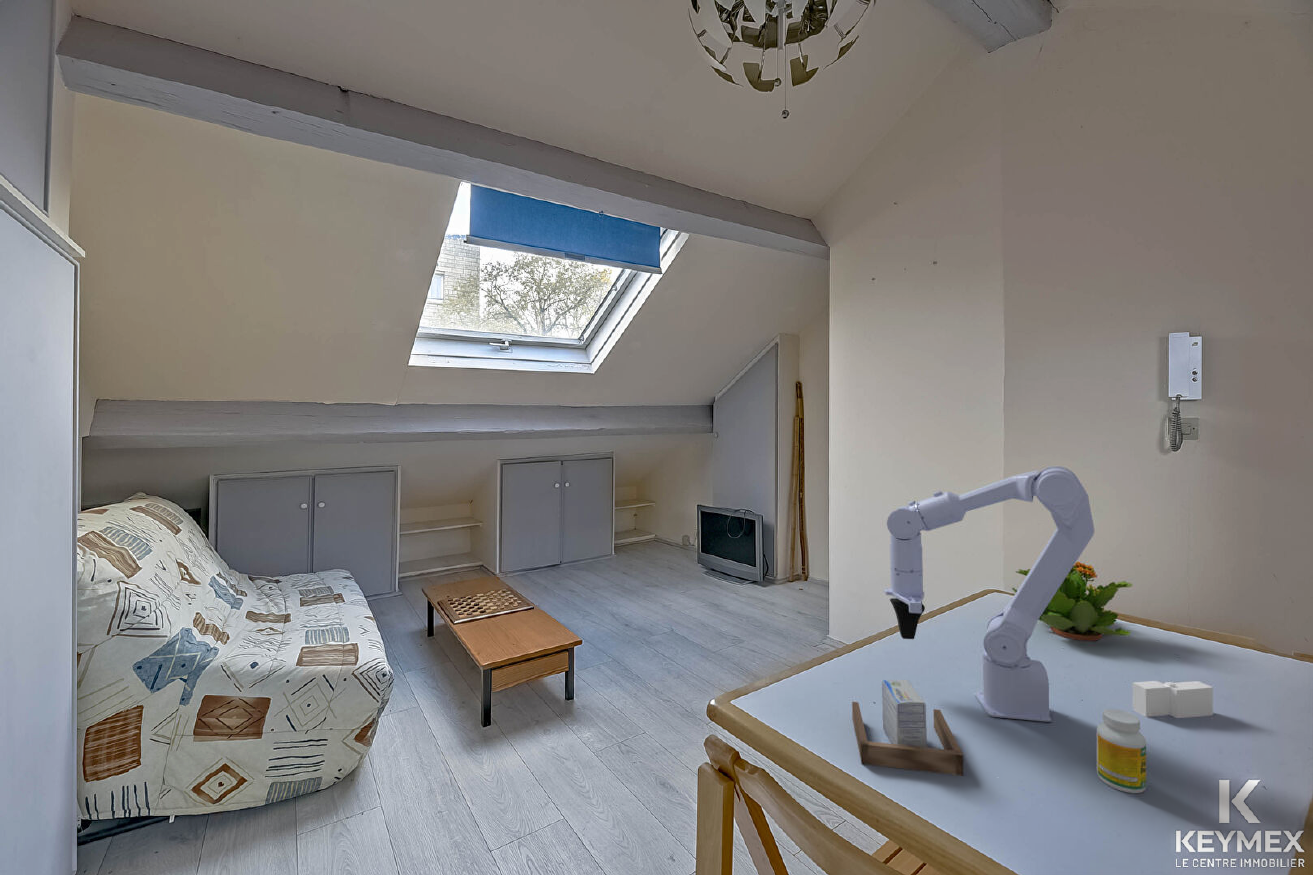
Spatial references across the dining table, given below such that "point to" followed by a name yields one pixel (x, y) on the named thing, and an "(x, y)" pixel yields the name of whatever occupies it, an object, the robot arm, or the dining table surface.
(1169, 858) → the dining table surface
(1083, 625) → the potted flower
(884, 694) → the medicine box
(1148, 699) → the white notched double block
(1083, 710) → the dining table surface
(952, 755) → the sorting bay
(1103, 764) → the supplement bottle
